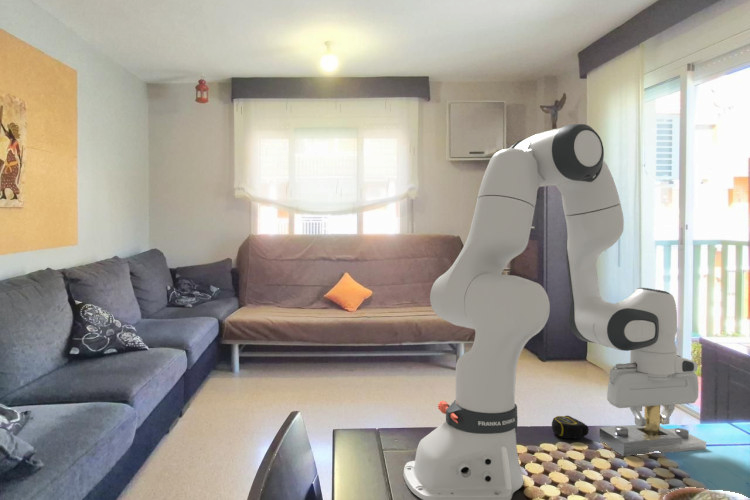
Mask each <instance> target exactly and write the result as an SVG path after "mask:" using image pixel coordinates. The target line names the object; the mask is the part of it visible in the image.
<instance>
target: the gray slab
mask: <svg viewBox="0 0 750 500" xmlns="http://www.w3.org/2000/svg"><path fill="white" fill-rule="evenodd" d="M599 442H600V443H602V442H604V443H606V444H607V445H608V446H610V448H609V449H611V448H612V449H613V450H612V449H611V450H612V451H614V450H615V451H614V452H616V453H617V452H618V453H617V454H619V455H620V454H621V456H622V457H624V456H625V457H628V456H627V455H636V456H638V455H637V454H646V453H649V452H654V451H659V452H662V453H661V454H667V453H678V452H689V451H699V450H707V441H705V440H703V439H701V438H699V437H696V436H694V435H692V434H691V433H689V430H687V429H684V428H680V427H675V428H664V427H662V426H660V436H649V435H647V434H645V433H644V426H637V425H636V424H634V425H632V424H631V425H621V426H620V425H619V426H608V427H599ZM608 446H607V447H608Z"/></svg>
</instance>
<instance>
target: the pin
mask: <svg viewBox="0 0 750 500" xmlns="http://www.w3.org/2000/svg"><path fill="white" fill-rule="evenodd" d="M660 414H661V405H659V406H644V414H643V415H644V416H643V417H644V418H646V426H644V433H645V434H647V435H649V436H660V427H661V425H660V424H661V423H660Z"/></svg>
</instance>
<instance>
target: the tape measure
mask: <svg viewBox="0 0 750 500" xmlns="http://www.w3.org/2000/svg"><path fill="white" fill-rule="evenodd" d="M551 429H552V432H553V433H554V434H555V435H557V436H559V437H562V438H564V439H571V440H572V439H573V440H574V439H579V438H581V437H582V438H583V437H586V436H587V435H588V434H589V431H590V430H589V427H588V425H587V424H586V423H584V422H582V421H580V420H579V419H577V418H574V417H572V416H570V415H564V416H563V415H557V416H555V417H553V419H552V422H551Z"/></svg>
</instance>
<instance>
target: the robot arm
mask: <svg viewBox="0 0 750 500" xmlns="http://www.w3.org/2000/svg"><path fill="white" fill-rule="evenodd" d="M604 150H605V149H604V145H603V141H602V139H601V137H600V135H599V134H598V133H597V132H596V131H595V130H594V128H592V127H591V126H590V125H587V124H585V123H583V124H582V123H575V124H573V123H572V124H566V125H564V126H561V127H560V128H554V129H550V130H545V131H541V132H538V133H536V134H533V135H531V136H529V137H527V138H525V139H521V140H519V141H517V142H515V143H514V144H513V145H510V147H509V148H502V149H501V150H499V151H497V152H495V153H494V154H493V155H492V157H491V158H490V159H489V162H488V164H487V167H486V169H485V171H484V174H483V178H482V180H481V181H480V182H481V183H480V186H479V189H478V194H477V198H476V202H475V203H476V204H475V207H474V213H473V216H472V221H471V225H470V229H469V232H468V235H467V238H466V240H465V243H464V245H463V247H462V249H461V250H460V252H459V254H458V256H457V257H456V258H455V261H454V262H453V264H452V265H451V266H450V268H448V270H446V272H444V273H443V274H441V275H440V276H439V277H437V278H436V280H435V281H434V282H433V284H432V286H431V289H430V294H429V301H430V306H431V309H432V311H433V312H434V314H435V315H436V316H437V317H439V318H441V319H442V320H444V321H446V322H448V323H450V324H451V325H454V326H456V327H457V326H458V327H462V328H467V329H471V330H474V332H475V335H474V340H473V344H472V345H471V346H472V347H471V349H470V350H469V351H467V352H465V353H463V354H462V355H461V356H460V357H458V358H457V361H456V363H455V399H454V401H452V402H451V404H449V403H448V402H447V401H445V400H441V401H439V403H438V404H437V407H438V410H439V411H440V412H441V413H442V414H444V415H445V421H443V422H442V423H441V424H440V425H439V426H437V427H436V428H435V429H434V430H432V431H431V432H429V433H428V434H427V435H425V436H424V437H423V438H421V439H420V441H419V443H418V445H417V448H416V452H415V460H412V461H411V460H410V461H408V462H406V463H405V465H404V468H403V479H404V482H405V484H406V486H407V487H408V489H409V490H410V491H411V492H412V493H413V494H414V495H415V496H416V497H418V498H419V499H420V500H512V498H513V495H514V493H515V492H516V491H518V490H519V489H521V488H522V487H523V485H524V475H523V474H522V470H521V465H520V461H519V455H518V448H517V432H518V420H519V419H518V418H519V417H518V406H517V404H516V381H517V379H516V378H517V368H518V363H519V358H520V356H521V354H522V351H523V349H524V348H525V346H526V344H527V343H528V342H529V340H531V339H532V338H533V337H535V336H536V335H538V334H539V333H540V332H541V331H542V330H543V329H544V328H545V325H546V324H547V322H548V320H549V317H550V311H551V305H550V298H549V296H548V294H547V291H546V290H545V288H544V287H543V286H542V285H541V284H540V283H538V282H536V281H533V280H530V279H527V278H525V277H521V276H518V275H511V274H502V273H503V271H504V270H505V268H506V267H507V265H508V264H509V263H511V261H512V260H513V259H514V258H516V257H517V256H519V255H521V254H523V252H524V251H525V250H526V248H527V247H528V244H529V239H530V234H531V229H532V225H533V219H534V216H535V209H536V204H537V198H538V197H537V196H538V190H539V188H540V187H554V186H555V187H556V188H557V189H558V191H559V193H560V194H561V202H562V203H561V204H562V209H563V212H564V217H565V222H566V223H565V224H566V230H567V231H566V232H567V242H566V245H565V257H566V259H565V260H566V269H567V275H568V284H569V291H570V305H569V306H570V307H569V312H568V313H569V314H568V323H569V327H570V330H571V332H572V333H573V335H574V336H575V337H576V338H578V339H579V340H581V341H583V342H587V343H592V344H597V345H599V346H600V345H601V346H604V347H606V348H611V349H614V350H618V351H627V352H628V351H630V360H629V361H630V362H627V363H615V364H614V366H613V367H612V368H611V369H610V370H609V380H608V385H607V391H606V399H607V401H608V403H609V404H610V405H611V406H613V407H615V408H618V409H625V408H626V409H627V408H629V409H630V411H631V413H632V415H633V416H634V425H637V426H646V418H644V416H643V415H642V413H641V412H643V407H644V408H645V406H659V405H660V406H662V407H663V408H662V410H661V412H660V424H661V425H670V417H671V416H672V414H673V413H674V411H675V407H676V405H685V404H695V403H696V401H697V400H698V399H699V377H698V374H697V373H696V372H698V368H699V367H698V365H699V364H698V362H696V361H693V360H691V359H688V358H685V357H682V356H681V355H679V354H678V353H677V352H678V349H677V345H676V342H675V341H676V340H675V339H676V335H677V332H678V313H677V312H678V311H677V305H676V300H675V298H674V296H673V294H671V293H670V292H668V291H666V290H661V289H655V288H654V289H653V288H649V287H637V288H635V289H634V292H633V293H631V294H630V296H627V297H626V298H625V299H623V300H621V301H617V302H616V303H613V302H609V301H606V300H604V299H603V297H602V296H601V294H600V289H599V281H598V274H597V273H598V272H597V271H598V270H597V261H598V258H599V256H600V255H601V254H603V252H605V251H607V250H608V249H610V248H611V247H612V246H613V245H615V244H616V243H617V242H618V241H619V239H620V238H621V237H622V235H623V232H624V227H625V226H624V224H625V221H624V213H623V210H622V205H621V201H620V200H621V199H620V197H619V193H618V189H617V185H616V183H615V181H614V178H613V175H612V172H611V170H610V168H609V165H608V164H607V162H606V161H605V160H604V157H605V155H604V153H605V152H604Z"/></svg>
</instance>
